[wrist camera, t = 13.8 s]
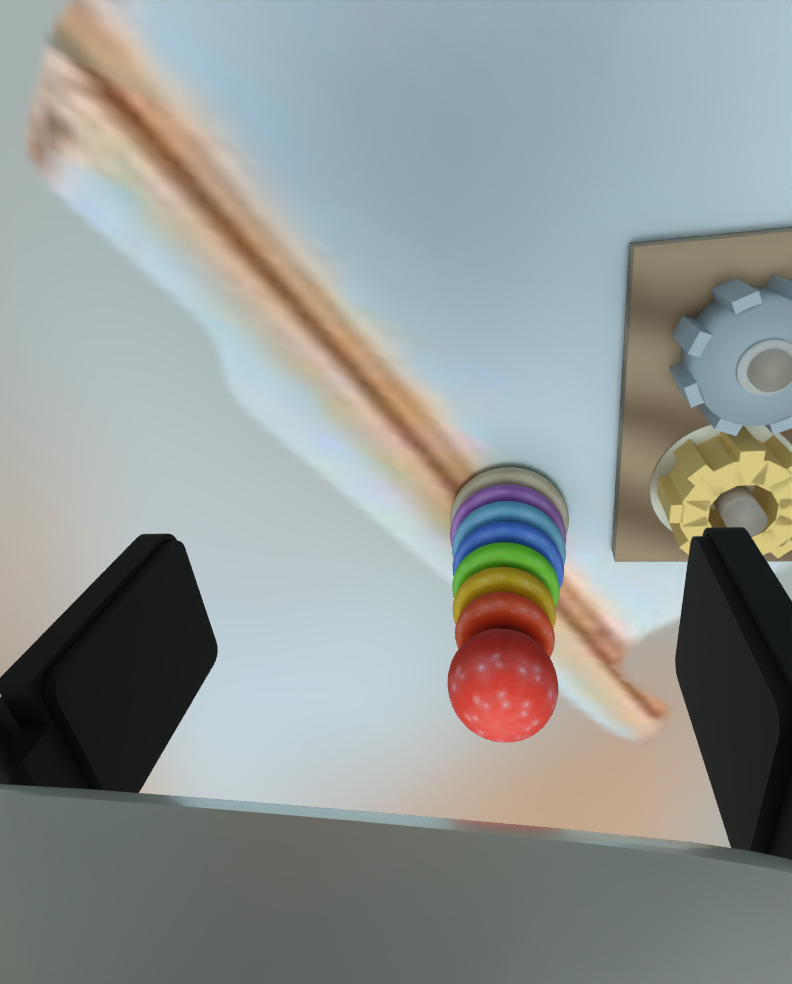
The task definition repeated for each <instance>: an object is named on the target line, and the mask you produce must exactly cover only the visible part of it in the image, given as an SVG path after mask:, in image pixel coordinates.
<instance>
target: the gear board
mask: <svg viewBox="0 0 792 984" xmlns="http://www.w3.org/2000/svg"><path fill="white" fill-rule="evenodd" d="M773 275H776V276H779V277H782V278H785V279H788V280H792V227H789V228H779V229H769V230H759V231H749V232H739V233H729V234H719V235H709V236H699V237H689V238H679V239H669V240H659V241H649V242H639V243H630V247H629V265H628V282H627V299H626V316H625V333H624V350H623V367H622V384H621V401H620V418H619V435H618V452H617V469H616V487H615V504H614V521H613V538H612V552H613V556H614V560H615V562H688V556H689V555H688V554H687V553H686V552H684V551H683V550H682V549H681V548H680V547H679V545H678V543H677V541H676V538H675V536H674V534H673V531H672V529H671V527H670V524H669V522H668V520H667V517H666V514H665V512H664V510H663V507H662V505H661V503H660V500H659V498H658V496H657V486H658V477H669V472H670V471H671V470H672V469H673V467H674V466H675V465H676V463H677V462H678V461H677V459H676V457H675V455H674V454H673V451H675V450H676V449H677V448H678V447H680V446H681V445H682V444H683V443H684V442H686V441H687V440H688V439H690V440H692V441H693V442H694V443H695V444H696V445H698V444H700V443H702V442H704V441H706V440H708V439H710V438H712V437H714V436H720V432H721V431H719V430H715V429H714V428H713V427H712V425H711V424H710V423H709V421H708V420H707V418H706V417H705V416H704V414H703V413H702V412H701V410H700V409H699V408H698V406H694V407H692V408H691V407H690V405H689V404H688V403H687V401H686V400H685V398H684V397H683V396H682V394H681V393H680V391H679V390H678V389H677V387H676V385H675V383H674V380H673V377H672V375H671V372H670V369H669V367H672V366H674V365H676V364H679V363H681V359H680V358H681V346H680V345H679V344H678V342H677V341H676V340H675V339H674V338H673V337H672V335H673V333H674V331H675V329H676V327H677V325H678V323H679V321H680V320H681V318H682V316H683V315H684V316H687V317H690V318H693V319H695V318H696V316H697V315H698V314H699V313H700V312H701V311H702V310H703V309H704V308H705V307H706V306H708V305H709V304H710V303H711V302H713V301H714V300H715V299H714V296H713V293H712V290H711V289H712V288H714V287H716V286H718V285H721V284H723V283H725V282H727V281H729V280H731V279H734V278H736V279H738V280H740V281H742V282H744V283H746V284H747V285H749V286H751V287H766V286H767V284H768V283H769V281H770V279H771V277H772V276H773ZM747 377H748V380H749V381H750V383H751V384H752V385H753V386H755V387H756V388H757V389H758V390H760V391H763V392H776V391H779V390H781V389H783V388H785V387H786V386H788V385H789V384H790V383H791V382H792V356H791V355H789V354H788V353H786V352H785V351H783V350H780V349H769V350H765V351H763V352H761V353H759V354H758V355H756V356H755V357H754V358H753V359H752V360H751V362H750V364H749V366H748V369H747ZM744 426H745V425H744ZM745 427H746V429H747V430H748V431H749V432H750V433H751V434H752V435H753V437H754V438H755V439H757V440H759V441H761V442H763V443H764V442H765V441H766V440H768V439H769V438H770V437H772V436H773V434H772V433H771V432H770V431H769V430H768V428H767V427H766V426H765V425H761V426H745ZM774 436H775V437H776V438H777V439H778V440H779V441H780V442H782V443H783V444H784V445H785V446H786V447H787V448H788V449H789V450H790V451H791V452H792V428H791V429H788V430H785V431H782V432H780V433H777V434H774ZM754 488H755V485H741V486H736V487H734V488H732V489H730V490H727V491H725V492H723V493H721V494H720V495H719V496H718V497H717V499H716V500H715V501H714V502H713V503H712V505H711V506H710V508H712V509H717V511H718V513H719V514H720V516H721V518H722V520H723V521H724V523H725V525H726V526H727V527H743V528H745V529H746V530H747V531H748V532H749V534H750V536H751V537H752V536H755V535H757V534H759V533H760V532H761V531H762V530H763V529H764V528H765V527H766V525H767V515H766V514H765V512H764V511H763V509H762V508H761V507H760V505H759V504H758V502H757V501H756V499H755V498H754V497H753V495H752V494H751V493H752V492H753V491H754ZM791 539H792V537H791ZM763 556H764V558H765V560H766V561H792V550H790V551H789V552H787V553H786V554H784V555H783V556H781V557H780V558H777V557H775V556H774V555H773V554H772V553H771V552H769V553H767V554H765V555H763Z"/></svg>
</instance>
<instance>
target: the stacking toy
mask: <svg viewBox="0 0 792 984" xmlns="http://www.w3.org/2000/svg"><path fill="white" fill-rule="evenodd" d="M568 525H569V517H568V510H567V506H566V504H565V501H564V499H563V497H562V495H561V494H560V492H559V491H558V490H557V488H556V487H555V486H554V485H553V484H552V483H551V482H550V481H548V480H547V479H546V478H544V477H543V476H541V475H539V474H537V473H535V472H533V471H530V470H526V469H522V468H515V467H503V468H497V469H492V470H489V471H486V472H484V473H481V474H479V475H478V476H476V477H474V478H473V479H472V480H470V481H469V482H468V483H467V484H466V485H465V486H464V487H463V488H462V489H461V490H460V492H459V493H458V495H457V497H456V499H455V500H454V503H453V506H452V510H451V531H450V539H451V545H452V554H453V560H454V561H453V576H454V579H453V586H452V587H453V596H454V603H453V617H454V621H455V624H456V628H455V639H456V643H457V647H458V649H459V650H458V651H457V652H456V654H455V656H454V658H453V660H452V662H451V665H450V669H449V673H448V692H449V698H450V701H451V704H452V707H453V708H454V711H455V713H456V714H457V716H458V717H459V719H460V720H461V721H462V722H463V723H464V724H465V726H466V727H468V728H469V729H470V730H471V731H473V732H474V733H476V734H477V735H479V736H481V737H483V738H485V739H488V740H491V741H496V742H505V743H506V742H515V741H520V740H523V739H526V738H529V737H530V736H532V735H534V734H535V733H537V732H538V731H539V730H540V729H541V728H543V727H544V725H545V724H546V723H547V722H548V720H549V719H550V717H551V716H552V714H553V711H554V709H555V706H556V702H557V697H558V681H557V675H556V671H555V668H554V666H553V663H552V661H551V659H550V657H551V654H552V652H553V649H554V643H555V636H554V630H553V628H554V625H555V621H556V606H557V603H558V599H559V589H560V587H561V585H562V581H563V576H564V563H565V557H566V549H565V545H566V534H567V531H568Z"/></svg>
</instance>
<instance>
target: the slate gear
mask: <svg viewBox="0 0 792 984" xmlns="http://www.w3.org/2000/svg"><path fill="white" fill-rule="evenodd" d="M711 290H712V293H713V296H714V299H715V300H714V301H713V302H711V303H710V304H709V305H708V306H706V307H705V308H704V309H703V310H702V311H701V312H700V313H699V314H698V315H697V316H696V318H695V319H693V318H690V317H687V316H684V315H683V316H682V318H681V320H680V321H679V323H678V325H677V327H676V329H675V331H674V333H673V335H672V337H673V338H674V339H675V340H676V341H677V342H678V344H679V345H680V346H681V358H680V359H681V363H679V364H676V365H674V366H672V367H669V369H670V372H671V375H672V377H673V380H674V383H675V385H676V387H677V389H678V390H679V391H680V393H681V394H682V396H683V397H684V398H685V400H686V401H687V403H688V404H689V405H690V407H691V408H692V407H694V406H698V408H699V409H700V410H701V412H702V413H703V414H704V416H705V417H706V418H707V420H708V421H709V423H710V424H711V425H712V427H713V428H714V429H715V430H719V431H722V432H725V433H728V434H731V435H734V436H736V435H737V434H738V432H739V431H740V429H741V427H742V426H743V425H745V426H761V425H765V426H766V427H767V428H768V430H769V431H770V432H771V433H772V434H773V435H774V434H777V433H780V432H782V431H785V430H788V429H791V428H792V382H791V383H790V384H789V385H788V386H786V387H785V388H783V389H781V390H779V391H776V392H763V391H760V390H758V389H757V388H756V387H755V386H753V385H752V384H751V383H750V381H749V380H748V377H747V369H748V366H749V364H750V362H751V360H752V359H753V358H754V357H755V356H756V355H758V354H759V353H761V352H763V351H765V350H769V349H780V350H783V351H785V352H786V353H788V354H789V355H791V356H792V280H788V279H785V278H782V277H779V276H776V275H773V276H772V277H771V279H770V281H769V283H768V284H767V286H766V287H751V286H749V285H747V284H746V283H744V282H742V281H740V280H738V279H736V278H734V279H731V280H729V281H727V282H725V283H723V284H721V285H718V286H716V287H714V288H712V289H711Z"/></svg>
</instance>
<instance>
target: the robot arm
mask: <svg viewBox="0 0 792 984" xmlns="http://www.w3.org/2000/svg"><path fill="white" fill-rule="evenodd" d="M217 652H218V651H217V642H216V639H215V636H214V634H213V630H212V627H211V624H210V621H209V618H208V615H207V612H206V609H205V606H204V603H203V600H202V597H201V594H200V591H199V588H198V585H197V582H196V579H195V576H194V573H193V570H192V567H191V564H190V562H189V558H188V555H187V552H186V549H185V547H184V545H183V543H182V542H180V541H177V540H176V538H175V537H174V536H173V535H171V534H142V535H140V536H139V537H137V538H136V539H135V540H134V541H133V542H132V543H131V545H129V546H128V547H127V549H125V551H124V552H123V553H122V554H121V555H120V556H119V557H118V558H117V559H116V560H115V561H114V562H113V563H112V564H111V565H110V566H109V567H108V568H107V569H106V570H105V571H104V572H103V573H102V574H101V575H100V576H99V577H98V578H97V579H96V580H95V581H94V582H93V583H92V584H91V585H90V586H89V587H88V588H87V589H86V591H84V593H83V594H82V595H81V596H80V597H79V598H78V599H77V600H76V601H75V602H74V603H73V604H72V605H71V606H70V607H69V608H68V609H67V610H66V611H65V612H64V613H63V614H62V615H61V616H60V617H59V618H58V619H57V620H56V621H55V622H54V623H53V624H52V625H51V626H50V627H49V628H48V630H46V631H45V633H43V634H42V635H41V636H40V638H39V639H38V640H37V641H36V642H35V643H34V644H33V645H32V646H31V647H30V648H29V649H28V650H27V651H26V652H25V653H24V654H23V655H22V656H21V657H20V658H19V659H18V660H17V661H16V662H15V663H14V664H13V665H12V666H11V667H10V668H9V669H8V670H7V671H6V672H5V673H4V674H3V675H2V676H1V678H0V694H1V697H0V984H792V601H791V599H790V598H789V596H788V595H787V593H786V592H785V590H784V588H783V587H782V585H781V583H780V582H779V580H778V579H777V577H776V575H775V574H774V572H773V571H772V569H771V568H770V566H769V564H768V563H767V561H766V560H765V558H764V556H763V555H762V553H761V552H760V550H759V548H758V547H757V545H756V544H755V542H754V540H753V539H752V537H751V536H750V534H749V532H748V531H747V530H746V529H745V528H743V527H707V528H706V529H705V530H704V532H703V535H702V536H693V537H692V539H691V542H690V549H689V556H688V564H687V572H686V580H685V587H684V595H683V603H682V610H681V618H680V626H679V634H678V641H677V649H676V658H675V661H676V662H675V663H676V673H677V678H678V682H679V685H680V688H681V691H682V694H683V697H684V701H685V704H686V707H687V710H688V713H689V716H690V719H691V722H692V726H693V729H694V732H695V735H696V738H697V741H698V745H699V748H700V751H701V754H702V757H703V760H704V764H705V766H706V770H707V773H708V776H709V779H710V782H711V785H712V788H713V792H714V795H715V798H716V801H717V804H718V808H719V811H720V814H721V817H722V820H723V823H724V827H725V830H726V833H727V836H728V839H729V842H730V845H731V848H727V847H720V846H713V845H706V844H700V843H693V842H685V841H675V840H665V839H656V838H647V837H637V836H628V835H618V834H609V833H599V832H590V831H580V830H571V829H560V828H548V827H537V826H525V825H514V824H503V823H492V822H481V821H470V820H458V819H447V818H436V817H424V816H413V815H402V814H389V813H378V812H366V811H354V810H342V809H331V808H318V807H306V806H294V805H281V804H270V803H258V802H246V801H234V800H221V799H208V798H195V797H182V796H169V795H156V794H143V793H139V792H140V790H141V788H142V787H143V785H144V783H145V781H146V779H147V778H148V776H149V775H150V773H151V771H152V769H153V768H154V766H155V764H156V763H157V761H158V759H159V757H160V756H161V754H162V752H163V751H164V749H165V747H166V745H167V744H168V742H169V740H170V739H171V737H172V735H173V733H174V732H175V730H176V728H177V727H178V725H179V723H180V722H181V720H182V718H183V716H184V715H185V713H186V711H187V709H188V708H189V706H190V704H191V703H192V701H193V699H194V697H195V696H196V694H197V692H198V691H199V689H200V687H201V685H202V684H203V682H204V680H205V678H206V677H207V675H208V674H209V672H210V670H211V668H212V667H213V665H214V663H215V661H216V657H217Z"/></svg>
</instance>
